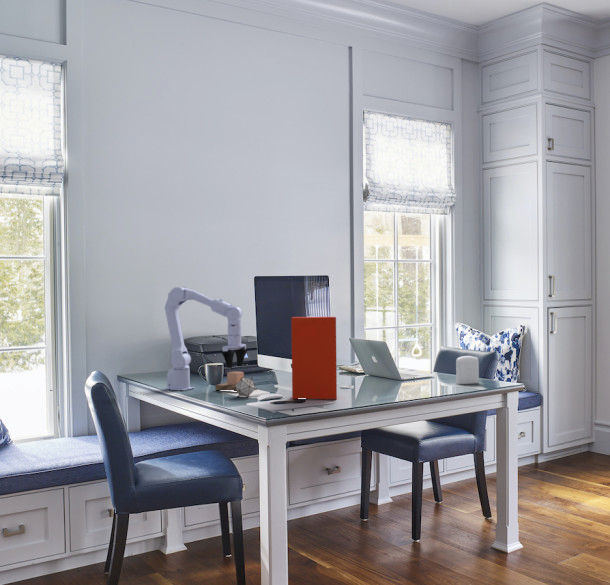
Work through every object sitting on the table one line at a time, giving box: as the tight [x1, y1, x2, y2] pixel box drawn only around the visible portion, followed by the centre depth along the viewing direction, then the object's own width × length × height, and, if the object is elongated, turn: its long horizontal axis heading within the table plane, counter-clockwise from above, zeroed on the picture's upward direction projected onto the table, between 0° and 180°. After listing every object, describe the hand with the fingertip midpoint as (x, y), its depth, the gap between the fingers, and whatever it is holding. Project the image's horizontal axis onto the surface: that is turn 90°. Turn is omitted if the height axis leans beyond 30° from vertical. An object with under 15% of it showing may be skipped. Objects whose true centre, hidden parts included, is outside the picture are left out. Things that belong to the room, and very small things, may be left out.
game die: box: [234, 376, 258, 398], centre depth 292 cm, size 9×8×10 cm
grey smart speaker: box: [455, 355, 480, 385], centre depth 324 cm, size 10×4×12 cm, turn 101°
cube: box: [226, 371, 245, 385], centre depth 311 cm, size 5×5×5 cm
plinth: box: [214, 382, 256, 391], centre depth 311 cm, size 12×12×2 cm
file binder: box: [291, 316, 338, 400], centre depth 287 cm, size 8×17×32 cm, turn 91°
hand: (234, 366), depth 311 cm, fingers open, 7 cm apart
